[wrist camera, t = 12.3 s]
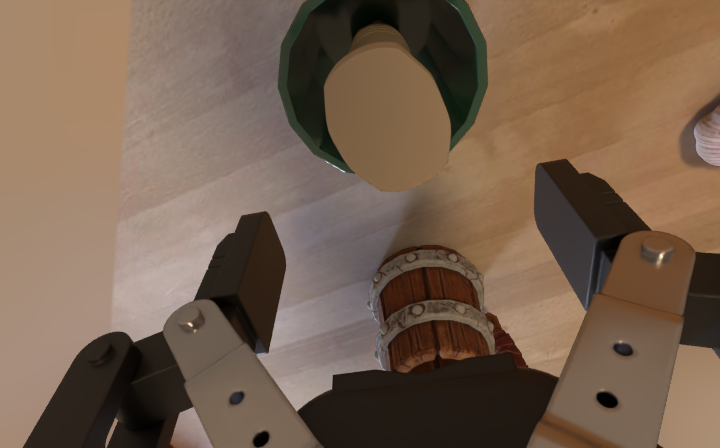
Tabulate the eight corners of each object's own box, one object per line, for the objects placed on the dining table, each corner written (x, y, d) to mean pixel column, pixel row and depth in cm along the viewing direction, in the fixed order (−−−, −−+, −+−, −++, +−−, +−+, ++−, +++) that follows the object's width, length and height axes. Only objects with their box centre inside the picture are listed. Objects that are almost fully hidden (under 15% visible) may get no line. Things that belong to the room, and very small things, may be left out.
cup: (280, -26, 28) (248, -4, 20) (446, -66, 27) (483, -60, 19) (321, 127, 35) (310, 191, 27) (458, 100, 33) (490, 158, 25)
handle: (366, 98, 33) (371, 206, 20) (324, 16, 29) (299, 84, 17) (425, 69, 31) (468, 164, 19) (389, -21, 28) (412, 25, 16)
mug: (384, 223, 40) (432, 363, 28) (508, 246, 45) (592, 374, 33) (344, 306, 46) (369, 448, 35) (456, 319, 51) (512, 447, 39)
